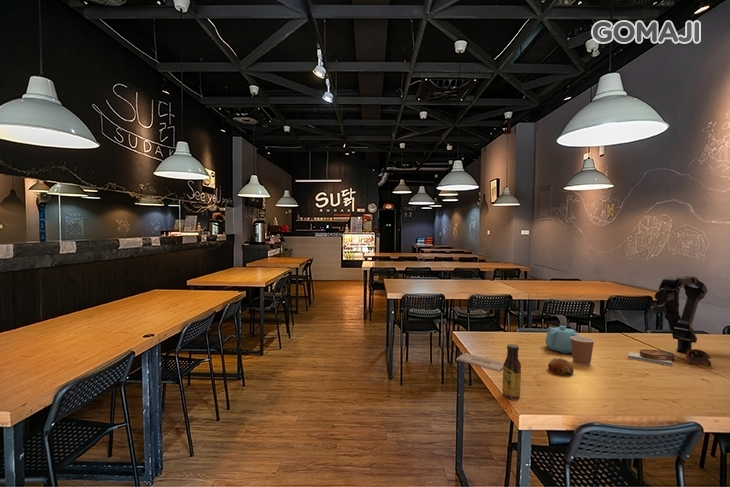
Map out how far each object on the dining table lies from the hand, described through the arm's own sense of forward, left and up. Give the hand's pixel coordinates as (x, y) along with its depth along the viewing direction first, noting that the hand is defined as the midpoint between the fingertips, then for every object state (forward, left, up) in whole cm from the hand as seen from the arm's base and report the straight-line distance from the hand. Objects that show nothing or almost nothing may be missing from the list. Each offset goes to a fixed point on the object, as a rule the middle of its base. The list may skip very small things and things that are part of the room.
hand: (671, 330), depth 184 cm
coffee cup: (+46, -35, -13) cm, 59 cm away
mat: (+16, -9, -13) cm, 23 cm away
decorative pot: (+30, -46, -13) cm, 56 cm away
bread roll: (+67, -40, -13) cm, 79 cm away
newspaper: (+77, -73, -14) cm, 107 cm away
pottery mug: (+10, +9, -13) cm, 19 cm away
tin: (+9, -8, -12) cm, 17 cm away
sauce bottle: (+108, -50, -13) cm, 120 cm away
